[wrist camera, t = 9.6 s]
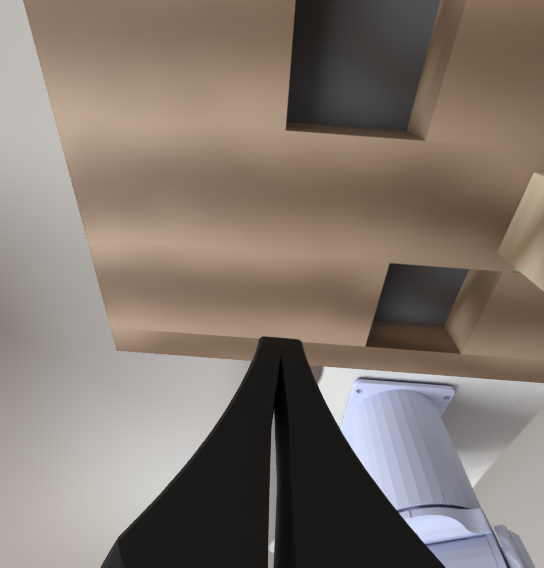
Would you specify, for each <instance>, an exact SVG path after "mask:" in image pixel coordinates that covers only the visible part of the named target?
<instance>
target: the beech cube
mask: <svg viewBox="0 0 544 568" xmlns="http://www.w3.org/2000/svg"><path fill="white" fill-rule="evenodd" d="M497 253H498V254H499V255H500V256H501V257H503V258H504V259H505V260H506V261H507V262H509V263H510V264H511V265H512V266H513V267H515V268H516V269H517V270H518V271H519V272H521V273H522V274H523V275H524V276H526V277H527V278H528V279H529V280H530V281H532V282H533V283H534V284H535V285H536V286H538V287H539V288H540V289H541V290H543V291H544V173H538V172H534V173H533V175H532V177H531V179H530V182H529V184H528V186H527V188H526V190H525V193H524V195H523V197H522V199H521V201H520V203H519V206H518V208H517V210H516V212H515V214H514V217H513V219H512V221H511V223H510V225H509V228H508V230H507V232H506V234H505V236H504V238H503V241H502V243H501V245H500V247H499V249H498V252H497Z"/></svg>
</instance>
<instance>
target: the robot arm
mask: <svg viewBox="0 0 544 568" xmlns="http://www.w3.org/2000/svg"><path fill="white" fill-rule="evenodd" d="M454 394H455V390H454V388H453V387H451V386H443V385H430V384H417V383H404V382H391V381H377V380H364V379H358V380H356V381H355V382H354V383H353V387H352V390H351V394H350V397H349V401H348V404H347V408H346V411H345V414H344V418H343V421H342V425H341V428H339V426H338V425H337V423H336V421H335V419H334V417H333V416H332V414H331V412H330V410H329V408H328V406H327V404H326V402H325V400H324V398H323V396H322V394H321V392H320V390H319V387H318V385H317V383H316V381H315V379H314V376H313V374H312V371H311V369H310V366H309V363H308V361H307V358H306V355H305V352H304V348H303V344H302V342H301V341H300V340H299V339H290V338H278V337H267V336H262V337H261V338H259V342H258V346H257V349H256V352H255V355H254V358H253V360H252V362H251V364H250V367H249V369H248V371H247V373H246V375H245V377H244V379H243V381H242V383H241V385H240V387H239V388H238V390H237V392H236V393H235V395H234V397H233V399H232V400H231V402H230V404H229V405H228V407H227V409H226V411H225V412H224V413H223V415H222V417H221V418H220V419H219V421H218V422H217V424H216V425H215V427H214V428H213V430H212V431H211V432H210V434H209V435H208V437H207V438H206V439H205V441H204V442H203V443H202V444H201V446H200V447H199V448H198V450H197V451H196V452H195V454H194V455H193V456H192V458H191V459H190V460H189V461H188V462H187V464H186V465H185V466H184V467H183V468H182V469H181V471H180V472H179V473H178V474H177V475H176V476H175V478H174V479H173V480H172V481H171V482H170V483H169V484H168V486H167V487H166V488H165V489H164V490H163V491H162V492H161V494H160V495H159V496H158V497H157V498H156V499H155V500H154V501H153V502H152V503H151V504H150V505H149V506H148V507H147V509H146V510H145V511H143V512H142V513H141V515H140V516H139V517H138V518H137V519H136V520H135V521H134V522H133V523H132V524H131V525H130V526H129V527H128V528H127V529H126V530H125V531H124V532H123V533H122V534H121V535H120V536H119V537H118V539H117V540H116V542H115V543H114V545H113V547H112V549H111V550H110V552H109V553H108V555H107V557H106V559H105V560H104V562H103V564H102V566H101V568H268V530H269V529H268V528H269V527H268V526H269V525H268V524H269V487H270V454H271V426H272V419H273V413H274V416H275V441H276V465H277V503H276V504H277V505H276V527H275V548H274V568H535V567H534V564H533V562H532V560H531V558H530V556H529V554H528V552H527V550H526V548H525V546H524V544H523V543H522V541H521V539H520V537H519V536H518V535H517V534H515V533H513V532H512V531H510V530H507V528H506V527H505V526H504V525H498V526H494V529H495V531H496V533H497V536H498V538H499V541H500V543H501V545H502V549H501V547H500V544H499V542H498V540H497V538H496V536H495V533H494V531H493V530H492V528H491V526H490V524H489V522H488V520H487V518H486V516H485V514H484V512H483V510H482V509H481V507H480V504H479V502H478V500H477V497H476V495H475V493H474V491H473V488H472V486H471V484H470V481H469V479H468V477H467V475H466V472H465V470H464V468H463V465H462V463H461V461H460V459H459V456H458V454H457V452H456V449H455V447H454V445H453V443H452V440H451V438H450V436H449V434H448V431H447V429H446V427H445V424H444V422H443V420H442V416H443V414H444V413H445V411H446V409H447V407H448V405H449V403H450V402H451V400H452V398H453V396H454ZM502 550H503V551H502ZM503 552H504V553H503ZM505 557H506V558H505ZM506 559H507V560H506ZM508 564H509V565H508ZM509 566H510V567H509Z"/></svg>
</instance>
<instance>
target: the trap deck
mask: <svg viewBox="0 0 544 568" xmlns="http://www.w3.org/2000/svg"><path fill="white" fill-rule="evenodd" d="M23 1H24V5H25V9H26V13H27V16H28V20H29V24H30V27H31V31H32V35H33V39H34V43H35V46H36V50H37V54H38V58H39V61H40V65H41V68H42V73H43V76H44V80H45V84H46V87H47V91H48V95H49V99H50V103H51V106H52V110H53V114H54V118H55V121H56V125H57V129H58V132H59V136H60V140H61V144H62V148H63V151H64V155H65V159H66V163H67V166H68V170H69V174H70V177H71V182H72V185H73V189H74V193H75V197H76V200H77V204H78V208H79V212H80V215H81V219H82V223H83V226H84V230H85V234H86V238H87V241H88V245H89V249H90V253H91V257H92V260H93V263H94V268H95V271H96V275H97V279H98V283H99V287H100V290H101V294H102V298H103V301H104V305H105V309H106V313H107V316H108V320H109V324H110V328H111V332H112V335H113V339H114V343H115V347H116V350H117V351H129V352H142V353H155V354H169V355H181V356H195V357H208V358H221V359H235V360H247V361H252V360H253V358H254V355H255V352H256V349H257V346H258V342H259V338H261V337H262V336H267V337H278V338H290V339H299V340H300V341H301V342H302V344H303V348H304V352H305V355H306V358H307V361H308V363H309V365H314V366H326V367H339V368H352V369H366V370H379V371H392V372H405V373H418V374H431V375H445V376H458V377H471V378H484V379H497V380H510V381H524V382H537V383H544V291H543V290H541V289H540V288H539V287H538V286H536V285H535V284H534V283H533V282H532V281H530V280H529V279H528V278H527V277H526V276H524V275H523V274H522V273H521V272H519V271H518V270H517V269H516V268H515V267H513V266H512V265H511V264H510V263H509V262H507V261H506V260H505V259H504V258H503V257H501V256H500V255H499V254H498V253H497V252H498V249H499V247H500V245H501V243H502V241H503V238H504V236H505V234H506V232H507V230H508V228H509V225H510V223H511V221H512V219H513V217H514V214H515V212H516V210H517V208H518V206H519V203H520V201H521V199H522V197H523V195H524V193H525V190H526V188H527V186H528V184H529V182H530V179H531V177H532V175H533V173H534V172H538V173H544V0H23Z"/></svg>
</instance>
